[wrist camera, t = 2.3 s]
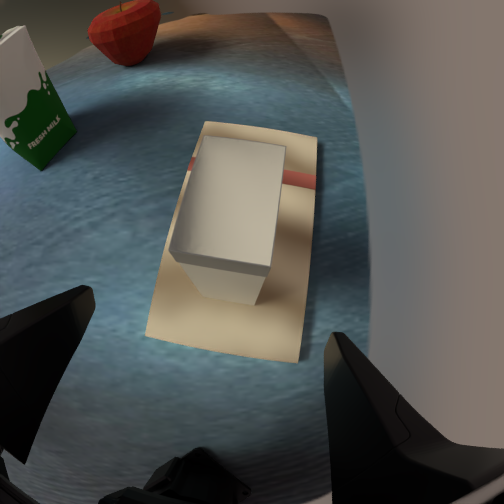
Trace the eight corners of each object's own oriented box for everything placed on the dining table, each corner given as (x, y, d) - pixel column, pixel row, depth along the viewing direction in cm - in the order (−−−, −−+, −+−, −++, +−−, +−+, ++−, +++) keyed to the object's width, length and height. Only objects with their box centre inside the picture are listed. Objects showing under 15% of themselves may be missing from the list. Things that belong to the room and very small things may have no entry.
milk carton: (57, 114, 29) (6, 15, 10) (86, 129, 28) (27, 5, 9) (17, 158, 26) (-51, 67, 8) (40, 180, 25) (-48, 69, 6)
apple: (164, 39, 35) (156, -16, 24) (169, 65, 32) (158, -2, 21) (105, 57, 34) (89, 6, 23) (99, 87, 31) (76, 26, 19)
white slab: (254, 306, 21) (271, 267, 11) (202, 297, 21) (168, 250, 11) (265, 233, 23) (286, 146, 13) (217, 225, 23) (203, 135, 13)
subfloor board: (295, 362, 21) (298, 363, 20) (148, 336, 21) (144, 335, 20) (314, 143, 28) (317, 137, 27) (206, 127, 28) (205, 120, 27)
